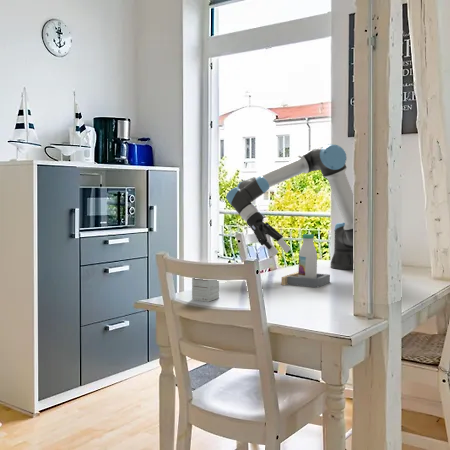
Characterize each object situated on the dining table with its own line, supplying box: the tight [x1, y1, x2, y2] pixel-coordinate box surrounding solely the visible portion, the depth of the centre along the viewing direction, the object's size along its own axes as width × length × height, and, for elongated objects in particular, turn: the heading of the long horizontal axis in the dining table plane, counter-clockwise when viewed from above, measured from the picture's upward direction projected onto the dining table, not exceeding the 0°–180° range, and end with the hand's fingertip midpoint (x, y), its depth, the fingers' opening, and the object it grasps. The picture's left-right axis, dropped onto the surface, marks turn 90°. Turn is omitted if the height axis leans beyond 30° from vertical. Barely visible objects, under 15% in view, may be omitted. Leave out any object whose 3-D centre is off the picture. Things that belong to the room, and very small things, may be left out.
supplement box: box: [191, 277, 220, 303], centre depth 201 cm, size 7×7×13 cm
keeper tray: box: [280, 271, 331, 288], centre depth 238 cm, size 20×15×3 cm
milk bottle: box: [297, 233, 318, 279], centre depth 237 cm, size 8×8×20 cm
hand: (282, 252), depth 243 cm, fingers open, 13 cm apart
